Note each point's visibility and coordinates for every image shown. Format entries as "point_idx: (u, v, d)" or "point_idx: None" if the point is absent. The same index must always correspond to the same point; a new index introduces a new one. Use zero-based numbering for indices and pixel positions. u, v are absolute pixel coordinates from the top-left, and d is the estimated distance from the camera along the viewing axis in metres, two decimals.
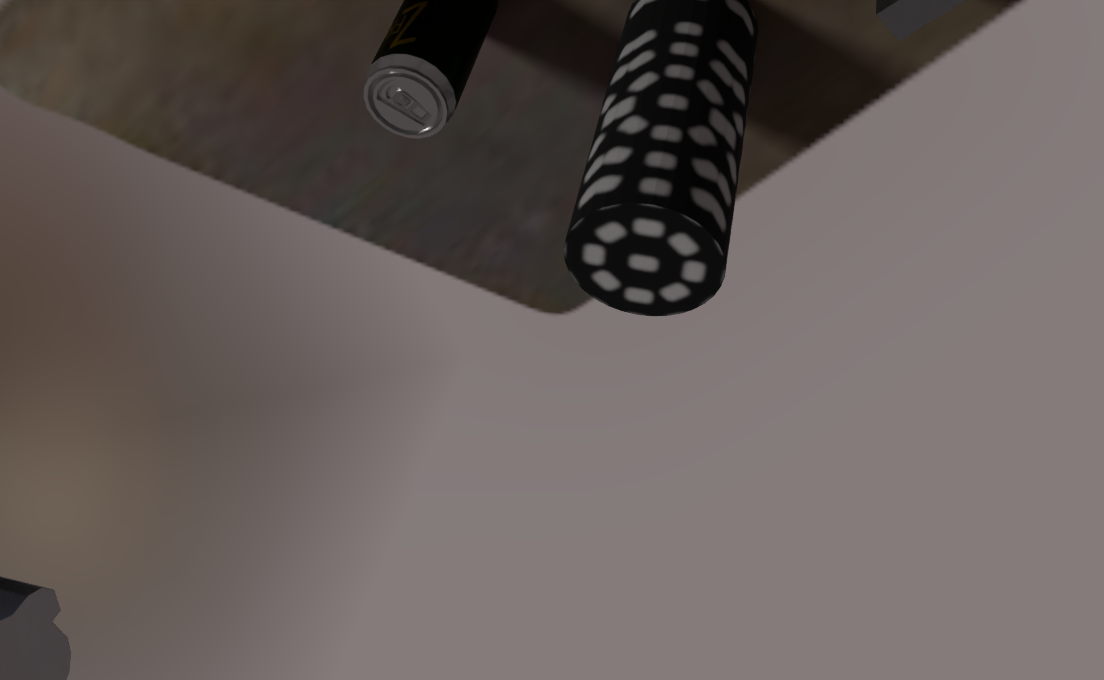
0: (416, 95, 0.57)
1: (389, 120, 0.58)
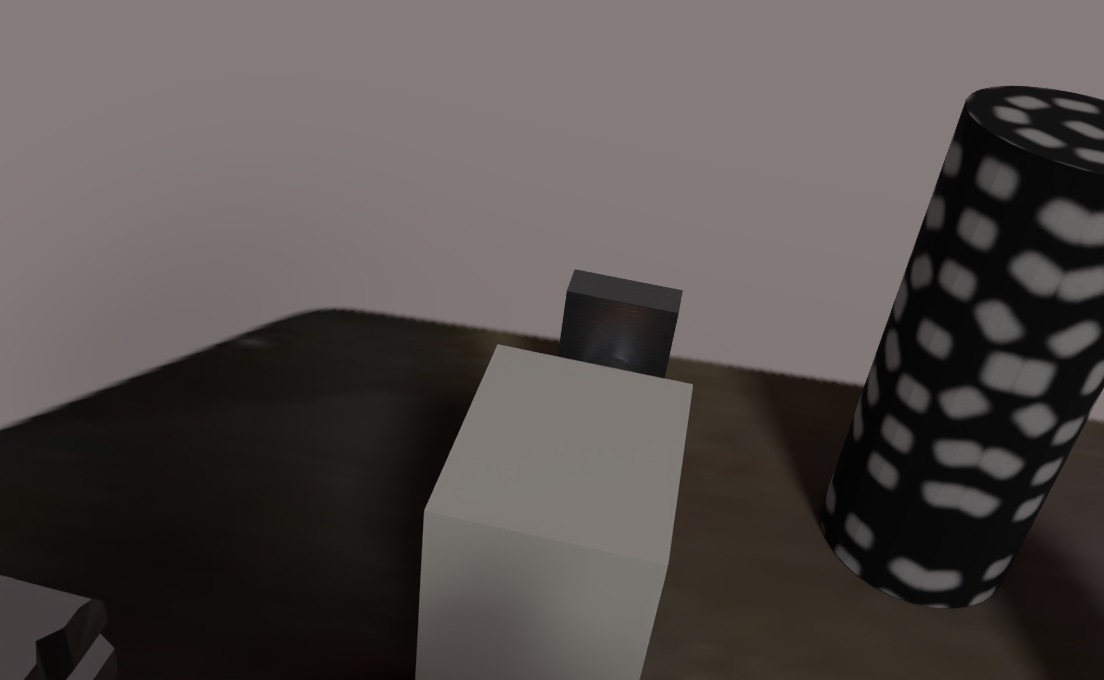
0: None
1: None
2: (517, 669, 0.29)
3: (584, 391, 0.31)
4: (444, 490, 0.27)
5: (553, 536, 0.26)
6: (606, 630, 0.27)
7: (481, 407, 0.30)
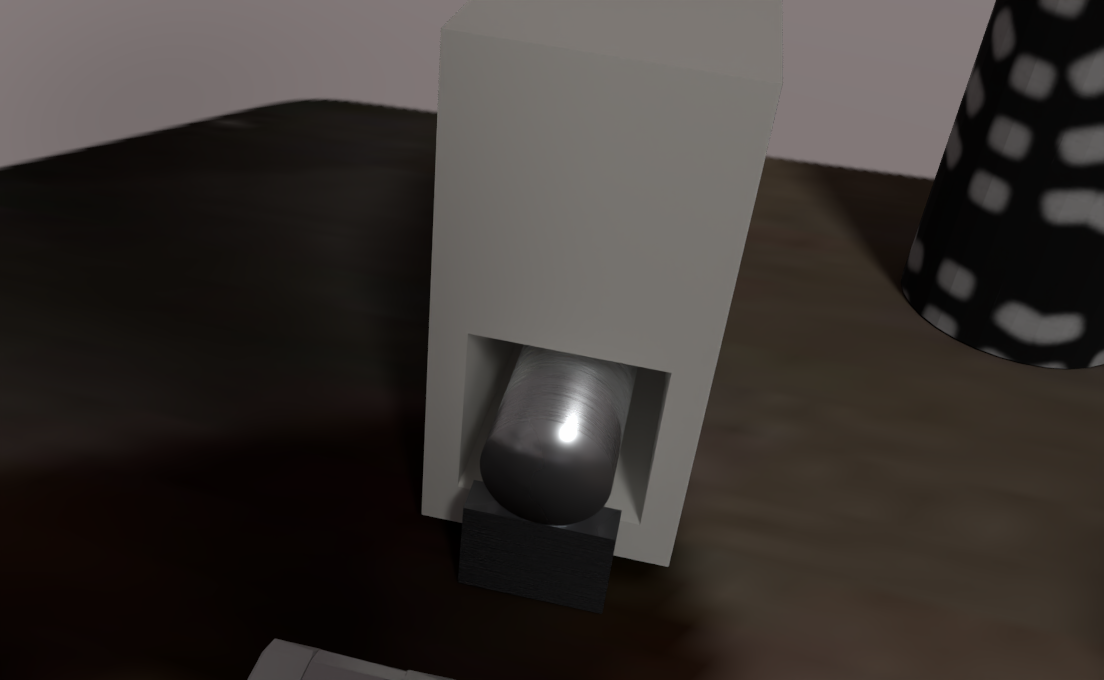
0: None
1: None
2: (565, 299, 0.22)
3: None
4: (468, 18, 0.20)
5: (621, 55, 0.19)
6: (690, 215, 0.20)
7: None
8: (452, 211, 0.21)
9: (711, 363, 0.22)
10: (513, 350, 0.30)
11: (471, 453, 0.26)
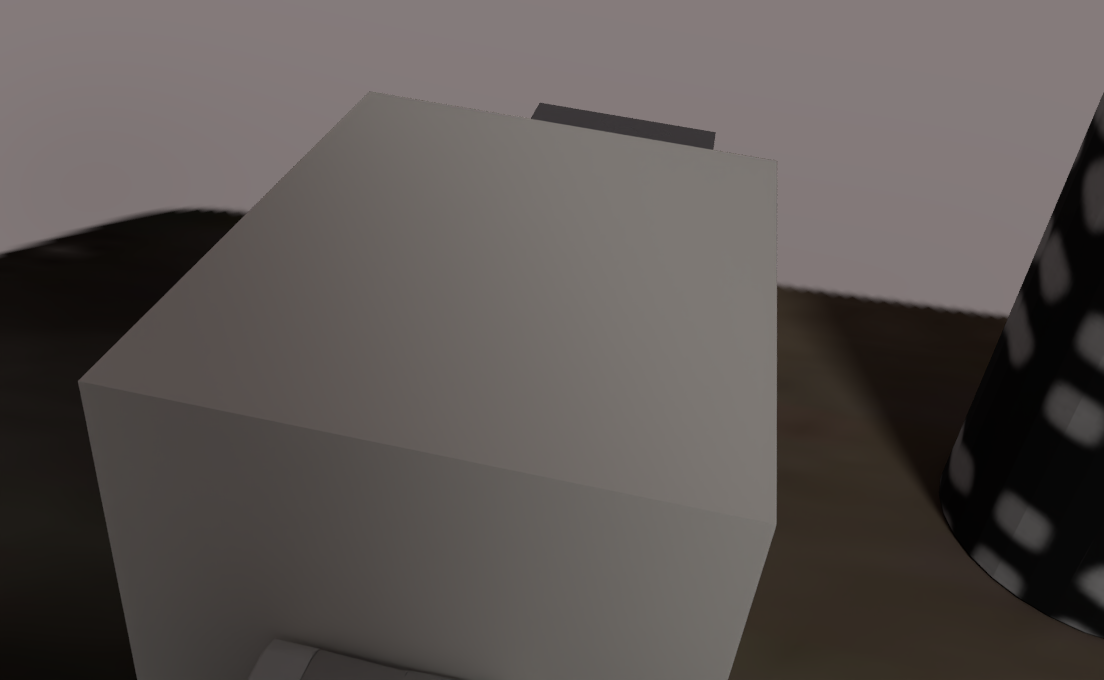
0: None
1: None
2: None
3: (546, 163, 0.14)
4: (158, 335, 0.10)
5: (442, 446, 0.09)
6: None
7: (307, 181, 0.13)
8: (164, 656, 0.11)
9: None
10: None
11: None
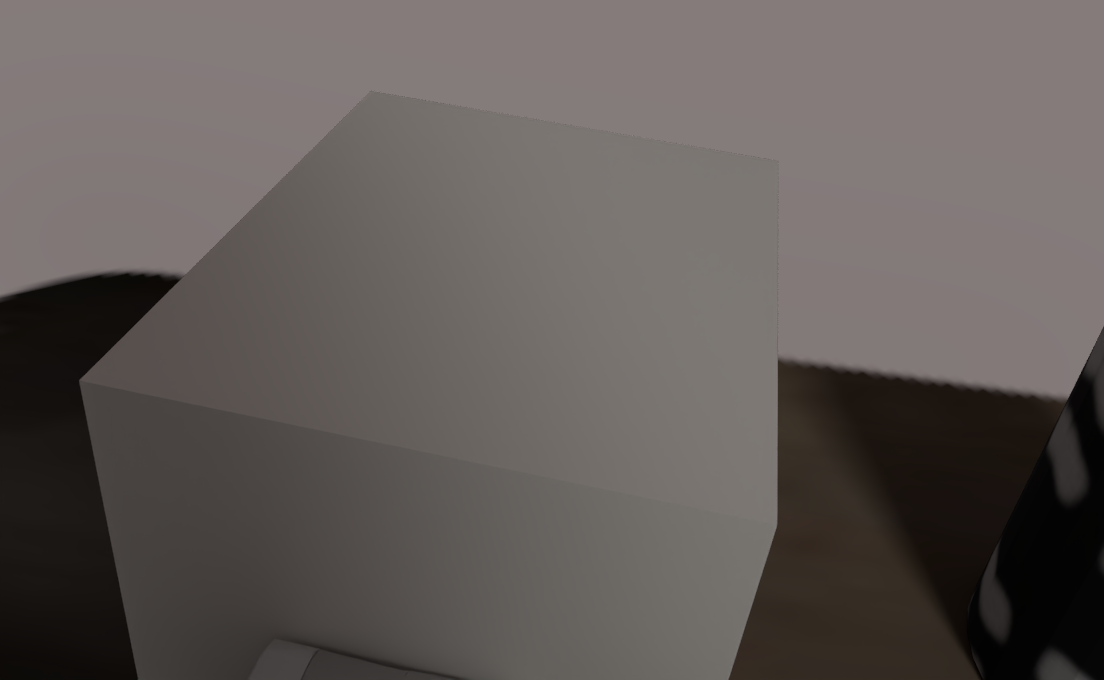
0: None
1: None
2: None
3: (547, 163, 0.14)
4: (158, 334, 0.10)
5: (443, 446, 0.09)
6: None
7: (308, 181, 0.13)
8: (165, 656, 0.11)
9: None
10: None
11: None
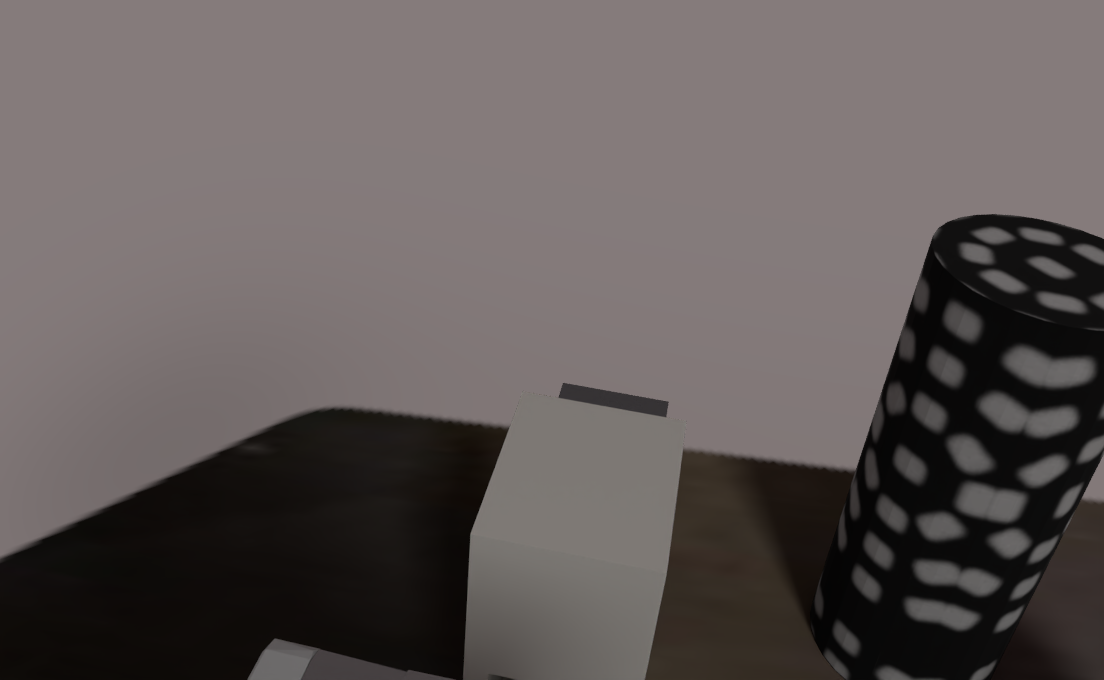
0: None
1: None
2: (547, 661, 0.35)
3: (596, 430, 0.38)
4: (485, 517, 0.33)
5: (574, 551, 0.32)
6: (619, 627, 0.34)
7: (511, 446, 0.36)
8: (477, 615, 0.35)
9: None
10: None
11: None
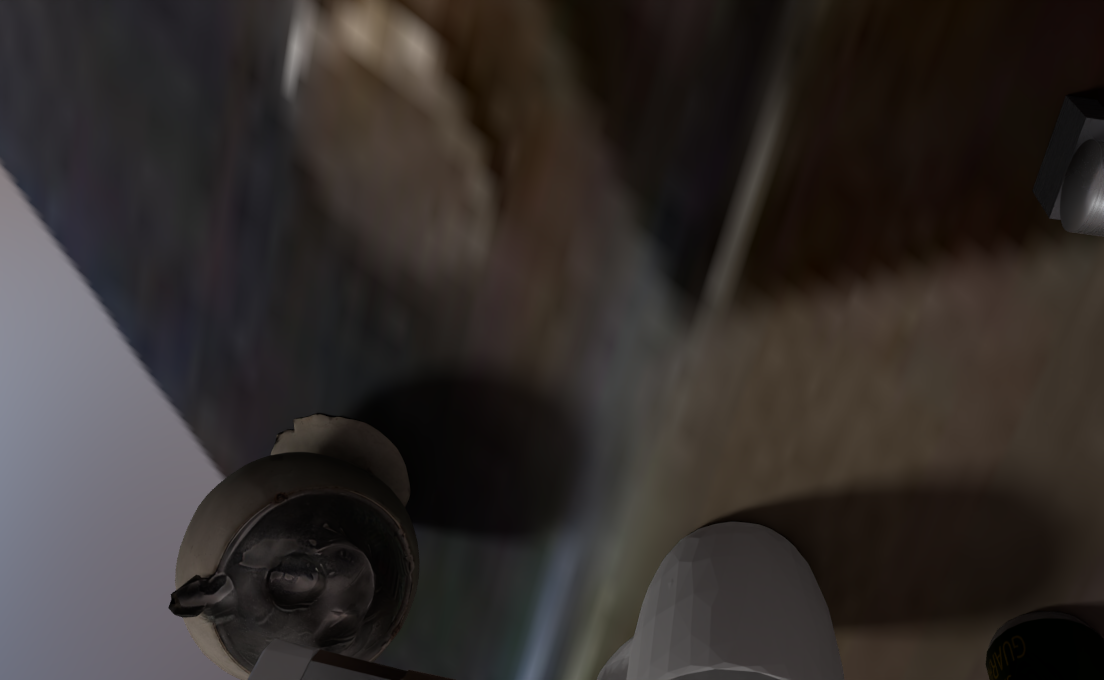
0: None
1: None
2: None
3: None
4: None
5: None
6: None
7: None
8: None
9: None
10: None
11: None
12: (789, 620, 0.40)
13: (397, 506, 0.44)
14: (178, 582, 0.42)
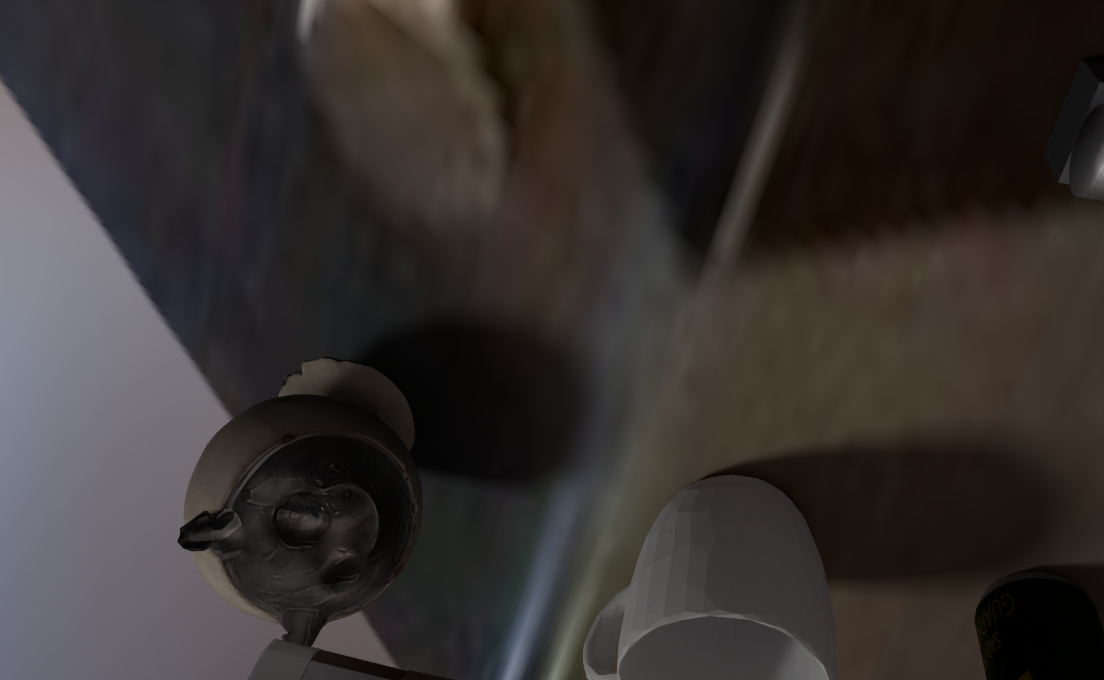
0: None
1: None
2: None
3: None
4: None
5: None
6: None
7: None
8: None
9: None
10: None
11: None
12: (783, 571, 0.41)
13: (402, 450, 0.45)
14: (186, 517, 0.43)
